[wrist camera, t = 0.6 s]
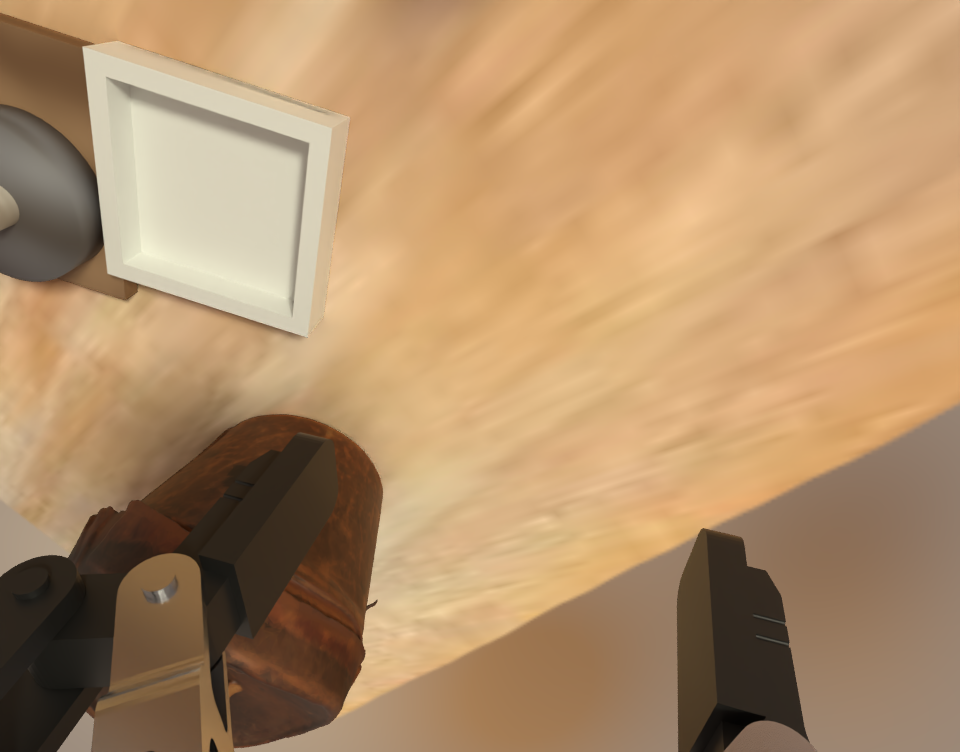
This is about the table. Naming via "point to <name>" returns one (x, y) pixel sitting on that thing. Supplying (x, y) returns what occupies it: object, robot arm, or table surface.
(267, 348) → the table surface
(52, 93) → the pulley board
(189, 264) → the tray
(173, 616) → the robot arm
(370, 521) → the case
